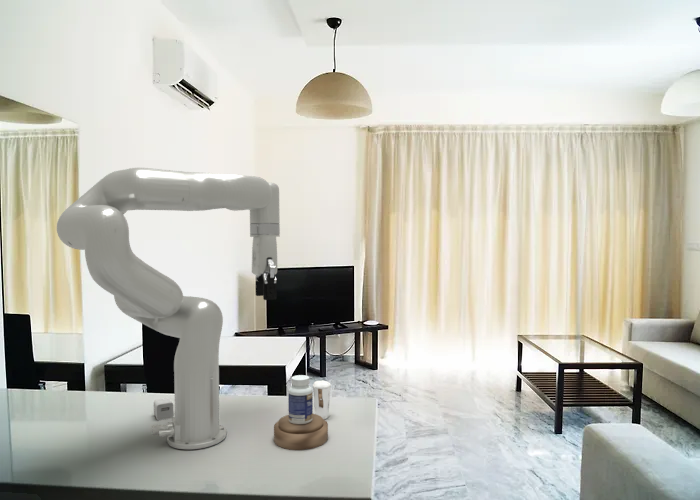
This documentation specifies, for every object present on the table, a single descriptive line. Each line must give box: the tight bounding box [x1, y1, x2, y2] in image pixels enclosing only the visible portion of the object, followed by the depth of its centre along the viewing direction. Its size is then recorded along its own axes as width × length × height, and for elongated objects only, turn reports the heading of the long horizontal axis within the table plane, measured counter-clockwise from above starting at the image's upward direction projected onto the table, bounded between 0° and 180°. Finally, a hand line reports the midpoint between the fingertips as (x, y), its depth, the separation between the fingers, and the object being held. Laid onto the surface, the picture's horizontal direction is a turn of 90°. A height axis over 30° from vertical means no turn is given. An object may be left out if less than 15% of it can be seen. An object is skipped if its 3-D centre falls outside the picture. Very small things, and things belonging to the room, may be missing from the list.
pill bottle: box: [287, 374, 314, 424], centre depth 108 cm, size 5×5×10 cm
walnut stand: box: [273, 413, 329, 451], centre depth 108 cm, size 12×12×4 cm
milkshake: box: [312, 377, 335, 420], centre depth 121 cm, size 4×5×10 cm
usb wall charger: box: [153, 397, 175, 421], centre depth 123 cm, size 4×7×4 cm, turn 31°
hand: (265, 297), depth 124 cm, fingers open, 9 cm apart
